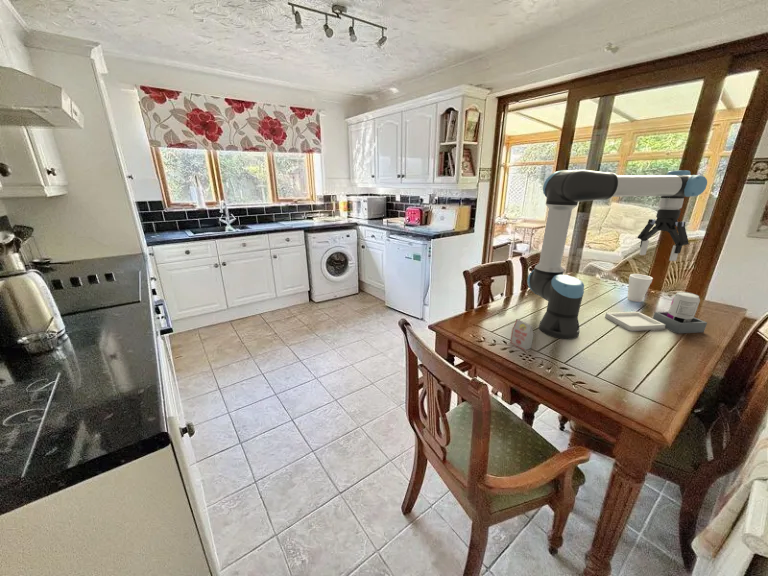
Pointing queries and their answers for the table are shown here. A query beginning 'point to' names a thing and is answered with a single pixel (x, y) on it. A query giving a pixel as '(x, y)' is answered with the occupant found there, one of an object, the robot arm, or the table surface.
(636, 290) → the foam cup
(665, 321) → the grey open square box
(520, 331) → the white paper packet
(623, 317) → the tray
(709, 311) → the table surface
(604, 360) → the table surface
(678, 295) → the supplement can
